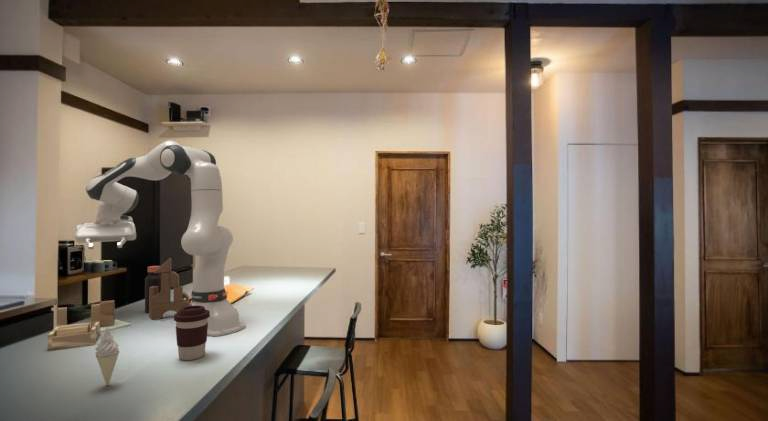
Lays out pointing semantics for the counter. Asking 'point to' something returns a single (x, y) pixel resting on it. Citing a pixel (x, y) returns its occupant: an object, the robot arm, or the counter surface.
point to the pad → (115, 325)
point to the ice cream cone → (107, 355)
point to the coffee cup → (191, 331)
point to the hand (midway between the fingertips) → (105, 247)
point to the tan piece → (74, 331)
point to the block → (107, 313)
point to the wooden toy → (166, 293)
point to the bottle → (151, 284)
